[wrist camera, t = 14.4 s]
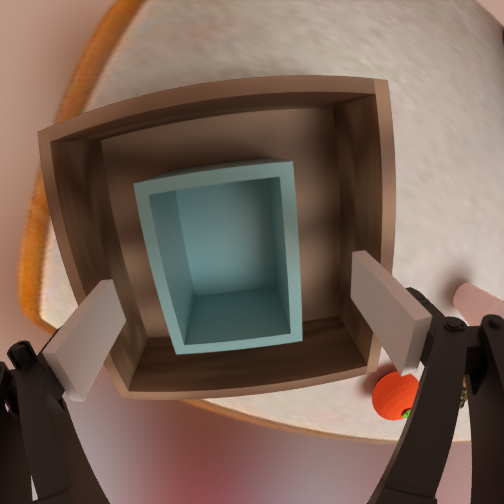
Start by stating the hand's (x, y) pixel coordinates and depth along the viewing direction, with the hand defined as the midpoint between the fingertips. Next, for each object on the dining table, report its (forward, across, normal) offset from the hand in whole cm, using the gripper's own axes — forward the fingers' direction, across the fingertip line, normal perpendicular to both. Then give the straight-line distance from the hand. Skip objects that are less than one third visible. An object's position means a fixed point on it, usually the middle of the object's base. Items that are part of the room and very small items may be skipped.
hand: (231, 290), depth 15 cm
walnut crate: (+12, -1, 0) cm, 12 cm away
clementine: (+12, +18, -24) cm, 33 cm away
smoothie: (+12, +28, -12) cm, 33 cm away
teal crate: (+10, -1, 0) cm, 11 cm away
